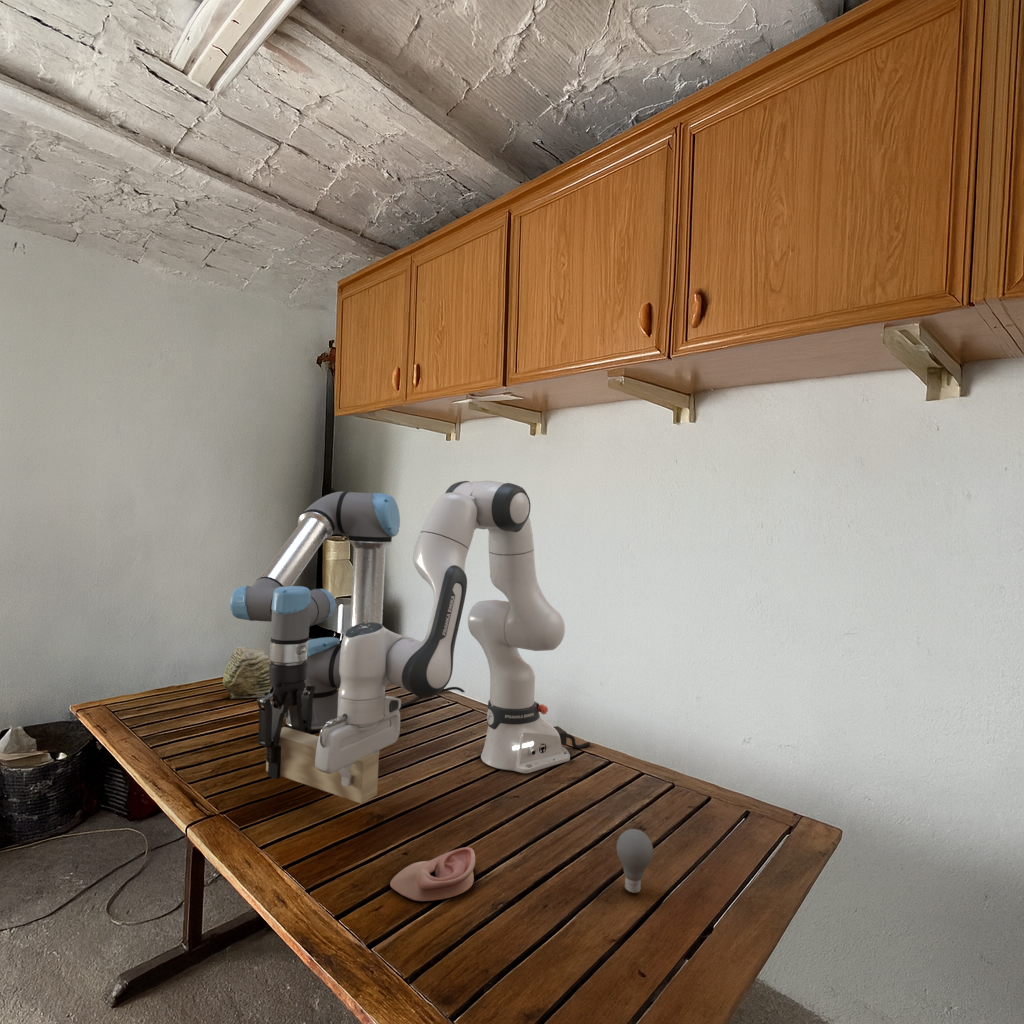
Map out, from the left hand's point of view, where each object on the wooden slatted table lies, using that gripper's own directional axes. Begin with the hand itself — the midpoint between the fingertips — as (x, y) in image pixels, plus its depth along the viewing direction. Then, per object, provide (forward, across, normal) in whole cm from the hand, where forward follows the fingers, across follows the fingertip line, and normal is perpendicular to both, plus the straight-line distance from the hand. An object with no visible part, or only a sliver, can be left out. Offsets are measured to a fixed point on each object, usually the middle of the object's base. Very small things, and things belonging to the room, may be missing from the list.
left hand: (284, 772), depth 132 cm
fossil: (+5, +42, +60) cm, 74 cm away
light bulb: (+6, +9, -72) cm, 73 cm away
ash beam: (0, 0, -10) cm, 10 cm away
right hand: (-4, 0, -20) cm, 20 cm away
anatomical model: (+6, -7, -43) cm, 44 cm away
